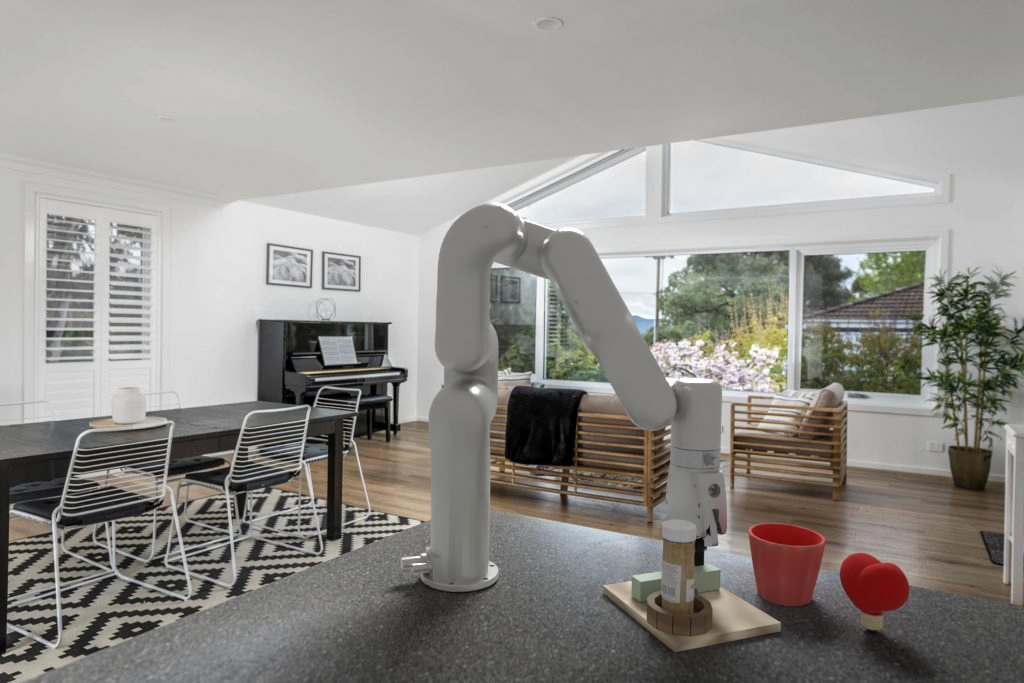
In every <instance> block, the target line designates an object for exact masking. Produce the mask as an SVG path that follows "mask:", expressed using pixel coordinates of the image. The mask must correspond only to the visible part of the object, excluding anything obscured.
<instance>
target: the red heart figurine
mask: <svg viewBox="0 0 1024 683" xmlns="http://www.w3.org/2000/svg"><path fill="white" fill-rule="evenodd" d="M839 579H840V584H841V586H842V589H843V591H844V592H845V595H846V596H847V597H848V599H849V601H850V602H851V603H852V604H853V606H854V607H855V608H856V609H858V610H859V611H860V615H861V616H860V624H861V626H863V627H864V628H866V630H867V631H868V632H871V633H876V632H878V631H879V630H882V629H883V626H884V616H885V612H891V611H895V610H898V609H900V608H901V607H903V606H904V605H905V604H906V603H907V602H908V599H909V596H910V584H909V580H908V578H907V576H906V574H905V573H904V571H903V570H902V568H900V567H899V565H897V564H895V563H893V562H881V561H880V560H879V559H878V558H876V557H875V556H873V555H871V554H869V553H866V552H856V553H855V552H854V553H851V554H850V555H848V556H847V557H845V558H844V560H843V561H842V563H841V565H840V568H839Z"/></svg>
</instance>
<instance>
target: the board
mask: <svg viewBox="0 0 1024 683" xmlns="http://www.w3.org/2000/svg"><path fill="white" fill-rule="evenodd" d="M631 591H632V580H628V581H622V582H618V583H611V584H610V583H609V584H603V585H602V594H603V593H604V595H605V596H606V595H607V596H608V597H609V598H608V597H607V596H606V597H607V598H608V599H609V600H611V601H612V600H613V601H612V603H614V602H615V603H614V604H616V605H617V606H618V607H619V608H621V610H623V611H624V612H626V613H627V614H628V615H629V616H630V617H631V618H632V619H634V620H635V621H636V622H637V623H638V624H640V625H641V626H642V627H644V628H645V629H646V630H647V631H648V632H650V634H652V635H653V636H654V637H655V638H657V639H658V640H659V641H661V642H662V643H663V644H664V645H665V646H666V647H668V648H669V649H670V650H672V651H673V652H674V653H678V652H684V651H688V650H694V649H699V648H705V647H709V646H714V645H718V644H724V643H729V642H733V641H739V640H744V639H750V638H754V637H759V636H763V635H768V634H770V635H771V634H774V633H779V632H782V622H781V621H779V620H777V619H776V618H774V617H773V616H771V615H769V614H767V613H766V612H764V611H763V610H760V609H759V608H757V607H755V606H754V605H752V604H751V603H750V602H747V601H745V600H744V599H742V598H741V597H739V596H738V595H735V594H734V593H732V592H731V591H729V590H727V589H726V588H724V587H722V586H721V585H720V589H718V590H712V591H706V592H700V593H697V591H698V590H697V589H695V588H694V613H692V614H679V613H673V612H669V611H666V610H663V609H662V595H661V591H657V592H654V593H652V594H651V595H649V596H648V597H647V601H645V602H639V601H638V600H636V599H635V598H634V597H633V596H631Z"/></svg>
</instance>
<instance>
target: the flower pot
mask: <svg viewBox="0 0 1024 683" xmlns="http://www.w3.org/2000/svg"><path fill="white" fill-rule="evenodd" d="M748 539H749V549H750V556H751V561H752V569H753V574H754V579H755V580H754V581H755V585H756V590H757V593H758V595H759V596H760V597H761V598H763V599H764V600H766V601H768V602H770V603H773V604H776V605H781V606H787V607H800V606H801V607H802V606H805V605H808V604H810V603H811V601H812V600H813V597H814V596H813V595H814V592H815V588H816V583H817V581H818V578H819V572H820V569H821V565H822V560H823V558H824V557H823V556H824V551H825V547H826V546H825V545H826V538H825V537H824V536H823V535H822V534H821V533H818V532H817V531H814V530H812V529H810V528H806V527H803V526H798V525H793V524H787V523H778V522H768V523H767V522H766V523H765V522H764V523H758V524H755V525H752V526H750V527H749V529H748Z"/></svg>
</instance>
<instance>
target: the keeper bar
mask: <svg viewBox="0 0 1024 683" xmlns="http://www.w3.org/2000/svg"><path fill="white" fill-rule="evenodd" d="M631 581H632V591H631V596H633V597H634V598H635V599H636V600H638V601H639V602H645V601H647V597H648V596H649V595H651V594H652V593H654V592H657V591H661V588H662V570H661V571H660V570H659V571H654V572H647V573H642V574H634V575H631ZM720 586H721V568H718V567H717V566H714V565H713V564H710V563H709V564H704V565H701V566H695V574H694V588H695V589H697V590H698V591H697V593H700V592H706V591H712V590H718V589H720Z"/></svg>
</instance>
